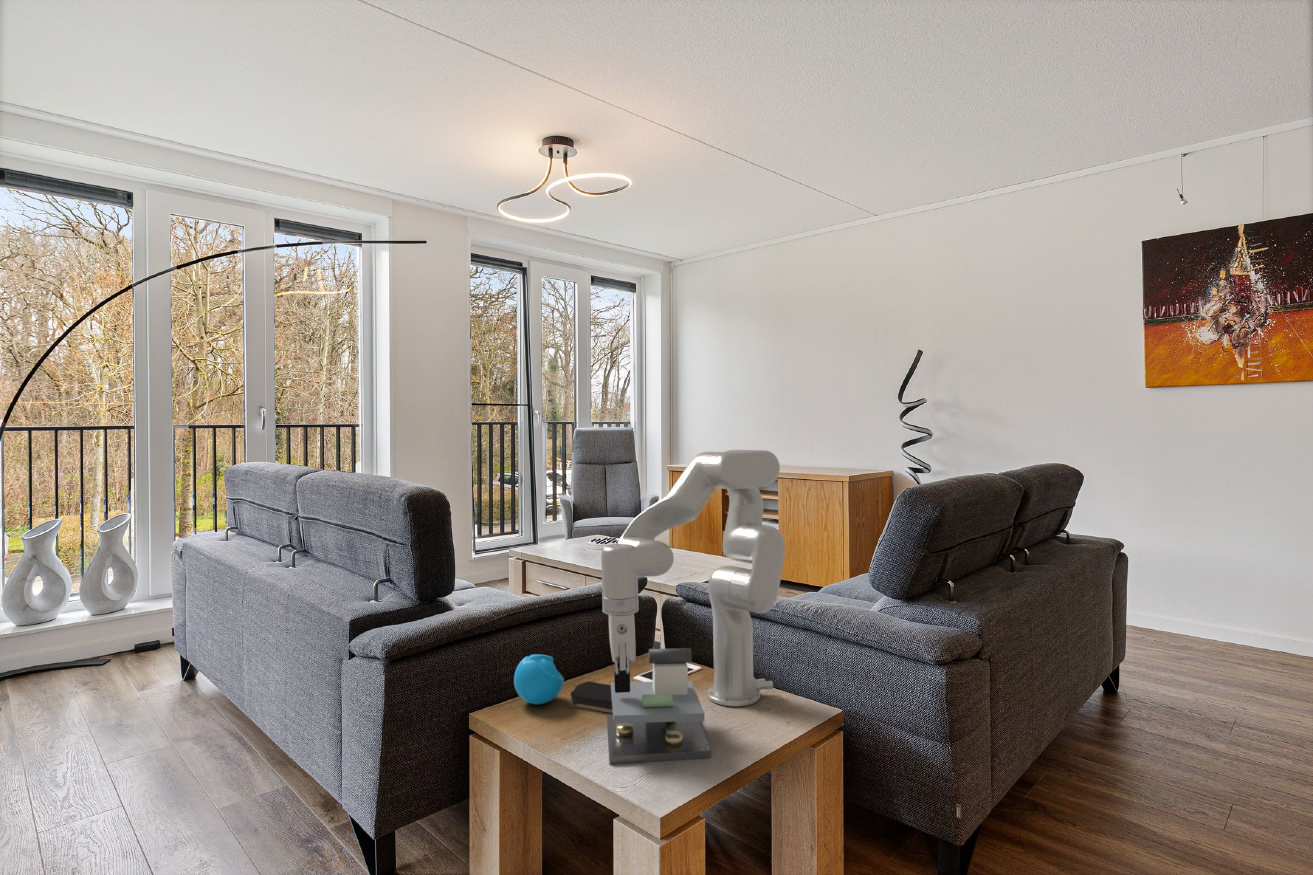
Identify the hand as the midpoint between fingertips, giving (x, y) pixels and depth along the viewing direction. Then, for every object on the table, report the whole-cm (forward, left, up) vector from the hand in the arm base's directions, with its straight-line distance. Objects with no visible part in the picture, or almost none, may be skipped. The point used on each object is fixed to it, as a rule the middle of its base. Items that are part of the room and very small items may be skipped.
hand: (622, 690), depth 143 cm
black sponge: (+3, -19, -11) cm, 23 cm away
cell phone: (-14, -38, -11) cm, 42 cm away
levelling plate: (-7, 0, -4) cm, 8 cm away
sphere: (+19, -23, -11) cm, 32 cm away
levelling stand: (-7, 0, -10) cm, 12 cm away
